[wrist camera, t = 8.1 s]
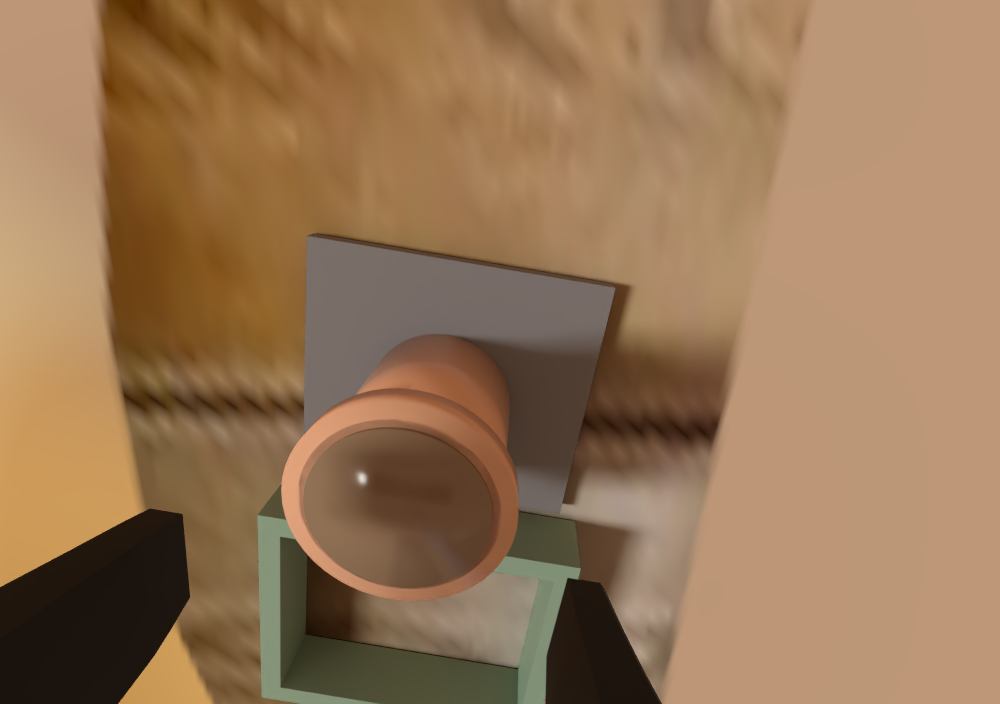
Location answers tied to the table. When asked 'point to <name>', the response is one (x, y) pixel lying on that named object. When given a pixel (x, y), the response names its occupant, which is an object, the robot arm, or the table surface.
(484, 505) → the terracotta pot
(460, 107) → the table surface
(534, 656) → the frame
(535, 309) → the slate mat
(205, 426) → the table surface
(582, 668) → the robot arm
